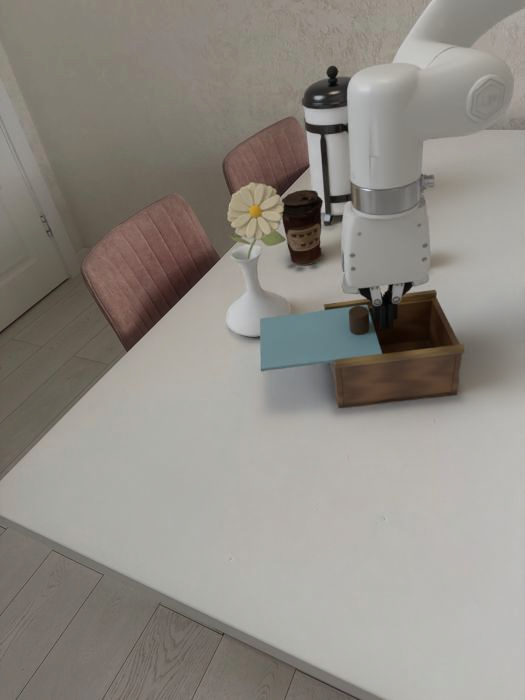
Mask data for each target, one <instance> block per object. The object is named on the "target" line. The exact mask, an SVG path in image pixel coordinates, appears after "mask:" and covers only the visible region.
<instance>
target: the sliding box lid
mask: <svg viewBox="0 0 525 700" xmlns="http://www.w3.org/2000/svg"><path fill="white" fill-rule="evenodd" d="M259 340H260V341H259V344H260V345H259V346H260V347H259V349H260V371H261V372H267V371H275V370H283V369H291V368H298V367H307V366H308V367H309V366H315V365H322V364H323V365H324V364H330V363H333V362H334V360H338V359H346V358H354V357H362V356H370V355H379V354H382V351H381V348H380V345H379V342H378V338H377V335H376V332H375V329H374V325H373V322H372V319H371V316H370V312H369V309H368V306H367V305H360V306H353V307H345V308H337V309H330V310H324V309H323V310H316V311H308V312H301V313H294V314H293V313H291V315H284V316H277V317H269V318H261V319H260V336H259Z"/></svg>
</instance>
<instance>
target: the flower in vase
mask: <svg viewBox="0 0 525 700" xmlns="http://www.w3.org/2000/svg"><path fill="white" fill-rule="evenodd" d="M283 207H284V203H283V202H282V200H281V196H280V195H279V194H277V188H273V187H272V186H271V185H266V184H263V183H257V182H254V181H253V182H252V181H251V182H249V184H247V185H245V186H242V187H240V189H239V190H237V191H236V192H233V193H232V194H231V199H230V202H229V204H228V211H227V213H226V215H227V221H228V222H229V223H231V224H230V226H231V228H233V229H235V230H234V233H235V234H236V235H238V236H239V237H235V236H231V235H229V234H226V236H227V237H228V238H230V239H231V240H232V241H235V242H237V243H240V244H241V243H242V244H244V245H240V246H237V247H236V248H234V249H233V250H232V251H231V252H230V258H231V259H232V260H234V261H235V262H236V264H237V265H238V266H239V268H240V270H241V272H242V275H243V279H244V282H245V292H244V293H243V294H242V295H240V297H238V298H237V299H235V301H233V303H232V304H231V305H230V306H229V308H228V309H227V311H226V316H225V324H226V325H227V327H228V328H229V329H230V330H231V331H233V332H234V333H236V334H238V335H239V336H244V337H252V338H253V337H260V319H261V318H269V317H277V316H284V315H292V307H291V305H290V304H289V301H288V300H287V299H286V298H285V297H284V296H281V295H279V294H277V293H275V292H272V291H269V290H265V289H263V288H262V286H261V284H260V281H259V280H260V279H259V272H258V265H259V259H260V256H261V255H262V253H263V248H262V247H261V246H260V245H258V244H256V241H261V242H262V243H263V244H264V245H266V246H267V247H272V246H276V245H279V244H281V243H283V242H285V241H287V238H286V237H285V236H283V235H282V234H281V233H279V232H278V231H277V230H278V229H279V228H280V225H281V221H282V216H283V214H282V212H283V211H284V208H283ZM243 237H244V238H246V239H249V240H250V239H253V241H252V242H249V241H247V240H246V239H244V238H243Z"/></svg>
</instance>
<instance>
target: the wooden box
mask: <svg viewBox="0 0 525 700" xmlns="http://www.w3.org/2000/svg"><path fill="white" fill-rule="evenodd" d="M437 295H438V294H437V290H436V289H430V290H422V291H414V292H407V293H405V294H404V295H403V296H402V298H401V301H400V302H399V303H398V309H397V319H394V320H393V329H387V327H386V329H385V330H380V327H379V324H378V322H374V320H373V316H372V302H371V301H370V300H368V299H367V298H362V299H354V300H347V301H339V302H332V303H326V304H325V303H324V304H323V310H330V309H337V308H345V307H353V306H360V305H367V306H368V309H369V312H370V316H371V319H372V322H373V325H374V329H375V332H376V335H377V338H378V342H379V345H380V348H381V351H382V354H379V355H370V356H362V357H354V358H346V359H338V360H334V362H333V363H329V364H330V369H331V375H332V380H333V386H334V392H335V398H336V403H337V408H338V409H342V408H343V409H344V408H352V407H361V406H368V405H378V404H385V403H386V404H387V403H395V402H403V401H413V400H421V399H422V400H423V399H431V398H439V397H446V396H455V395H458V387H459V381H460V374H461V366H462V358H463V354H464V353H465V352H466V347H465V344H463V343H460V341H459V339H458V338H457V335H456V334H455V331H454V330H453V327H452V326H451V324H450V321H449V320H448V318H447V315H446V314H445V312H444V310H443V307H442V305H441V304H440V302H439V300H438V298H437Z"/></svg>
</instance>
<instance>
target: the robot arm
mask: <svg viewBox="0 0 525 700" xmlns="http://www.w3.org/2000/svg"><path fill="white" fill-rule="evenodd" d="M524 9H525V0H431V1H430V2H429V3H428V5H427V6H426V7H425V9H424V10H423V12H422V13H421V14H420V16H419V18H418V19H417V20H416V22H415V23H414V25H413V26H412V28H411V29H410V31H409V33H408V34H407V35H406V37H405V39H404V40H403V41H402V43H401V44H400V47H399V48H398V50H397V51H396V54H395V55H394V58H393V60H392V62H389V63H381V64H377V65H372V66H368V67H365V68H363V69H361V70H359V71H357V72H355V73H354V75H353V76H351V77H352V78H351V80H350V81H349V84H348V89H347V108H348V132H349V156H350V179H351V180H350V183H351V201H348V202H347V203H346V204H345V207H344V212H343V215H342V221H341V237H340V239H341V240H340V245H341V246H340V251H341V253H340V256H341V257H340V259H341V269H342V272H343V278H342V282H341V288H342V292H343V293H344V294H346V295H347V294H348V295H360V296H362V297H364V299H368V300H370V301H371V302H372V316H373V320H374V322H378V324H379V327H380V330H385V329H386V327H387V329H393V320H394V319H397V309H398V303H399V302H400V301H401V298H402V296H403V295H404V294H406V293H409V291H410V290H411V289H412V288H413V287H418V286H421V285H424V284H427V283H428V282H429V281H430V276H429V272H430V267H431V237H430V222H429V214H428V206H427V201H426V199H425V195H423V194H424V191H425V190H426V191H427V190H428V189H430V188H434V187H435V175H434V174H428V175H427V174H424V173H423V172H422V171H423V156H424V155H423V153H424V152H423V150H424V143H425V142H426V141H429V140H436V139H446V138H447V139H449V138H459V137H466V136H471V135H474V134H477V133H479V132H483V131H484V130H486V129H488V128H490V127H491V126H492V125H494V124H495V123H496V122H497V121H498V120H499V119H500V118H501V117H502V116H503V115H504V114H505V112H506V110H507V109H508V108H509V106H510V103H511V102H512V99H513V94H514V89H515V82H514V81H515V80H514V75H513V72H512V70H511V68H510V66H509V64H508V63H507V62H506V61H505V59H503V58H502V57H500V56H498V55H497V54H495V53H492V52H489V51H487V50H482V49H477V48H471V47H473V45H475V43H476V42H477V41H479V39H480V38H481V37H483V35H485V34H486V33H487V32H488V31H489V30H491V29H493V27H495V26H496V25H497V24H499V23H500V22H502V21H503V20H505V19H506V18H509V17H510V16H512V15H514V14H517V13H518V12H520V11H521V10H524ZM382 286H383V287H384V286H387V288H386V290H385V291H384V294H383V293H382V291H381V288H380V287H382Z"/></svg>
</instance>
